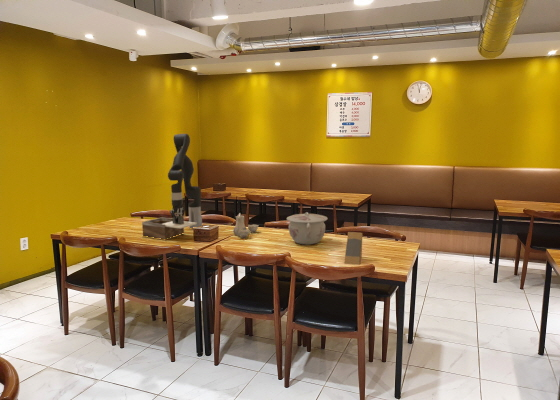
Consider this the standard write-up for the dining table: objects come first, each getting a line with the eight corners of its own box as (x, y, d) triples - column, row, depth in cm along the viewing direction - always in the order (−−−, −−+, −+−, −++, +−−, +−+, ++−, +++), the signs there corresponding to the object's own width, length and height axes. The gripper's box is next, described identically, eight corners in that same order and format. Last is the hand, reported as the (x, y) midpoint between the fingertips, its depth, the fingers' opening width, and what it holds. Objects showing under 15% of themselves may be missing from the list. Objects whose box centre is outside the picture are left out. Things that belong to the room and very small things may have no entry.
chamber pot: (302, 235, 296) (302, 207, 292) (335, 241, 278) (335, 211, 275) (277, 243, 274) (277, 213, 271) (311, 250, 257) (311, 217, 254)
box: (162, 231, 315) (161, 217, 313) (184, 234, 304) (183, 219, 302) (143, 236, 298) (142, 221, 297) (165, 240, 288) (164, 224, 286)
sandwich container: (343, 264, 229) (343, 237, 227) (347, 256, 244) (347, 231, 241) (359, 265, 227) (359, 238, 224) (362, 257, 241) (362, 232, 239)
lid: (176, 221, 304) (176, 213, 303) (197, 224, 294) (196, 215, 293) (159, 225, 290) (159, 217, 289) (180, 228, 280) (180, 220, 279)
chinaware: (249, 242, 286) (250, 218, 283) (226, 238, 289) (227, 215, 286) (259, 233, 313) (261, 211, 310) (238, 230, 316) (240, 208, 313)
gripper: (180, 197, 297) (181, 220, 300) (165, 199, 285) (167, 224, 288) (187, 197, 293) (189, 221, 296) (173, 200, 281) (175, 225, 284)
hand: (178, 222), depth 292 cm, fingers closed on lid, 3 cm apart
